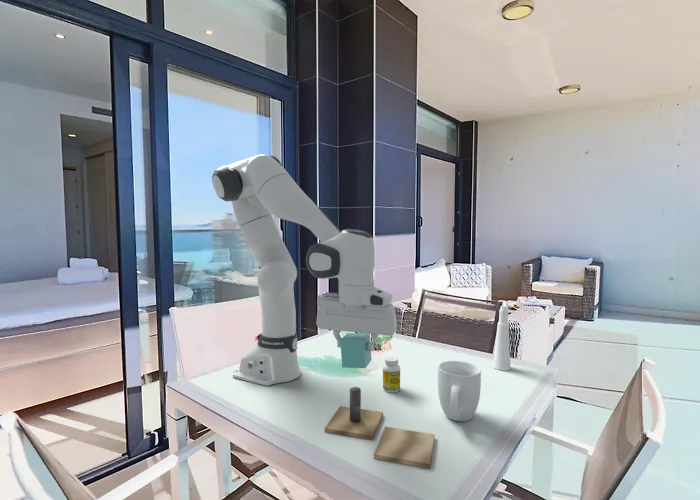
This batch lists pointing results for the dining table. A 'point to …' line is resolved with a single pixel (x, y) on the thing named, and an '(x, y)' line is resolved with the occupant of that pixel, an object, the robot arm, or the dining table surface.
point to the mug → (459, 389)
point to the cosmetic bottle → (502, 342)
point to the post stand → (355, 419)
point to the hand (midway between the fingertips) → (355, 348)
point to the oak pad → (405, 447)
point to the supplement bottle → (391, 375)
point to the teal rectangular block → (355, 350)
